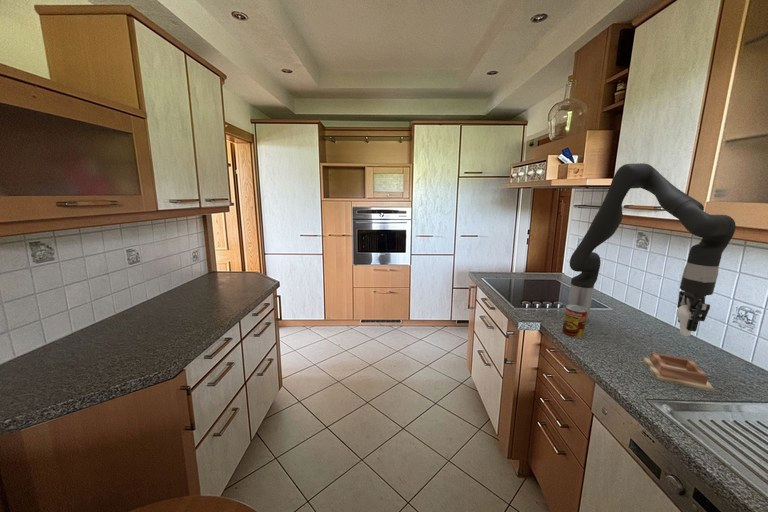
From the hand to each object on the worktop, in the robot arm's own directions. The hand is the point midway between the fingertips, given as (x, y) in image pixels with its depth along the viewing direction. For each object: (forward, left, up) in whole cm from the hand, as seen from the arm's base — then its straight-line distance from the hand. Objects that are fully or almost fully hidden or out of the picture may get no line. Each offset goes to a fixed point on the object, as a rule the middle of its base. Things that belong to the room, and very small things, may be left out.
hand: (686, 326), depth 99 cm
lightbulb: (0, 0, -4) cm, 4 cm away
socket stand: (0, 0, -18) cm, 18 cm away
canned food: (-19, -28, -18) cm, 38 cm away
